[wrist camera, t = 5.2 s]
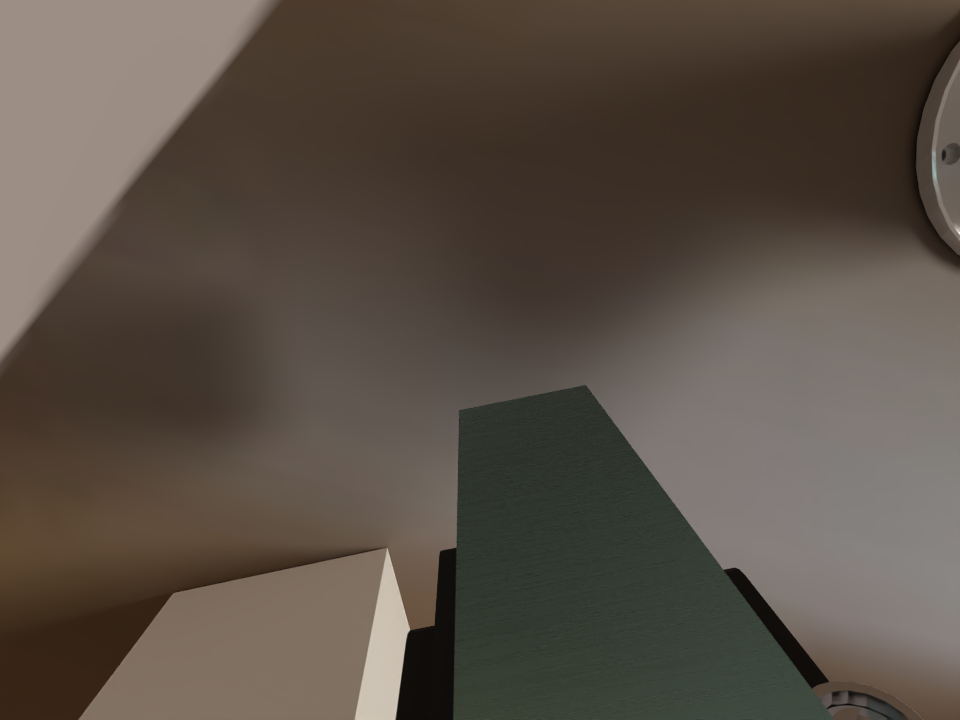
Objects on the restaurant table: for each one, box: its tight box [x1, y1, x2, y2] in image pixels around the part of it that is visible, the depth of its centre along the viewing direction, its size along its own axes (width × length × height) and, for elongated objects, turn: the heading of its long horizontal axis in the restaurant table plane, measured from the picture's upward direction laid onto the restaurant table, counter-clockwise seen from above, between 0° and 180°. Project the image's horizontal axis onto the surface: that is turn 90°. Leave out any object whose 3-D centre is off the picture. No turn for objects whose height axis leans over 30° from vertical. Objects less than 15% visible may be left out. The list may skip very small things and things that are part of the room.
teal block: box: [453, 385, 835, 720], centre depth 9 cm, size 3×6×10 cm, turn 11°
